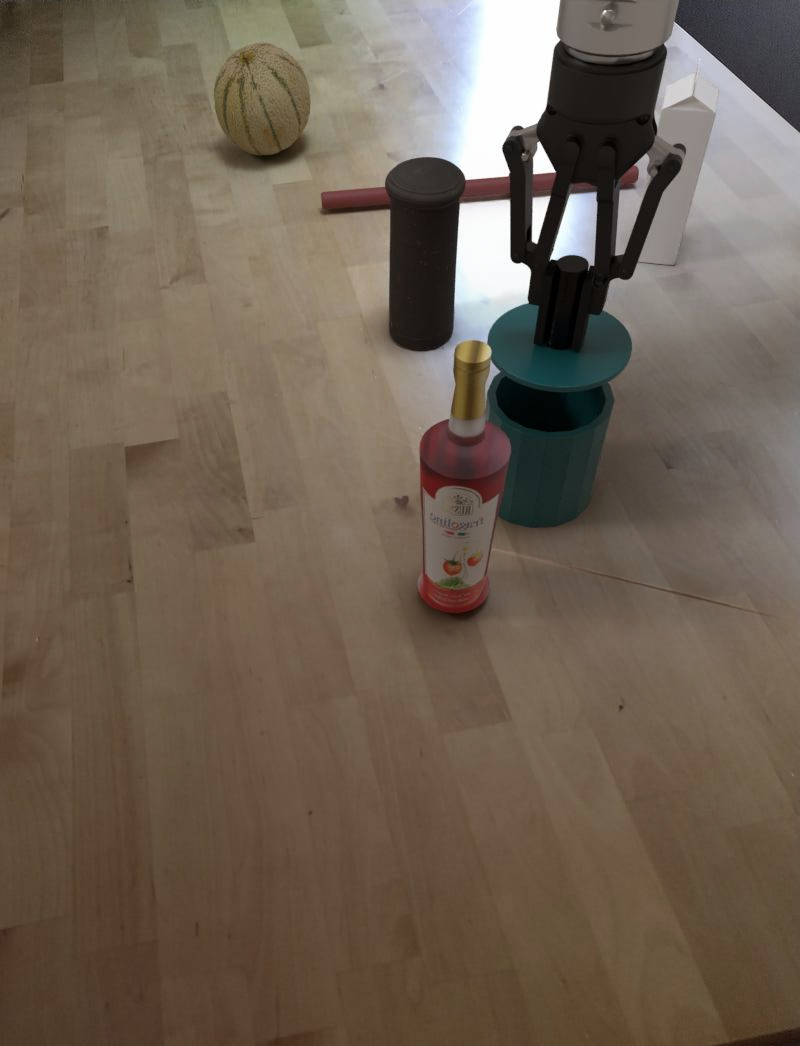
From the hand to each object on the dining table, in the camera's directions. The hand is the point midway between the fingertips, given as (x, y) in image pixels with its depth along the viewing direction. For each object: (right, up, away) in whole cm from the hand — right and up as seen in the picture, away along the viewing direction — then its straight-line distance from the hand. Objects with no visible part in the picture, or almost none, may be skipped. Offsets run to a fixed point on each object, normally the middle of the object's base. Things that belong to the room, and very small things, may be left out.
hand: (559, 338), depth 79 cm
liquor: (-8, -22, +8) cm, 25 cm away
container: (-9, +12, +33) cm, 36 cm away
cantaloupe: (-30, +51, +63) cm, 86 cm away
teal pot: (+1, -11, +15) cm, 19 cm away
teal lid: (0, 0, +1) cm, 1 cm away
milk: (+23, +25, +39) cm, 52 cm away
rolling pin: (+2, +37, +50) cm, 62 cm away
